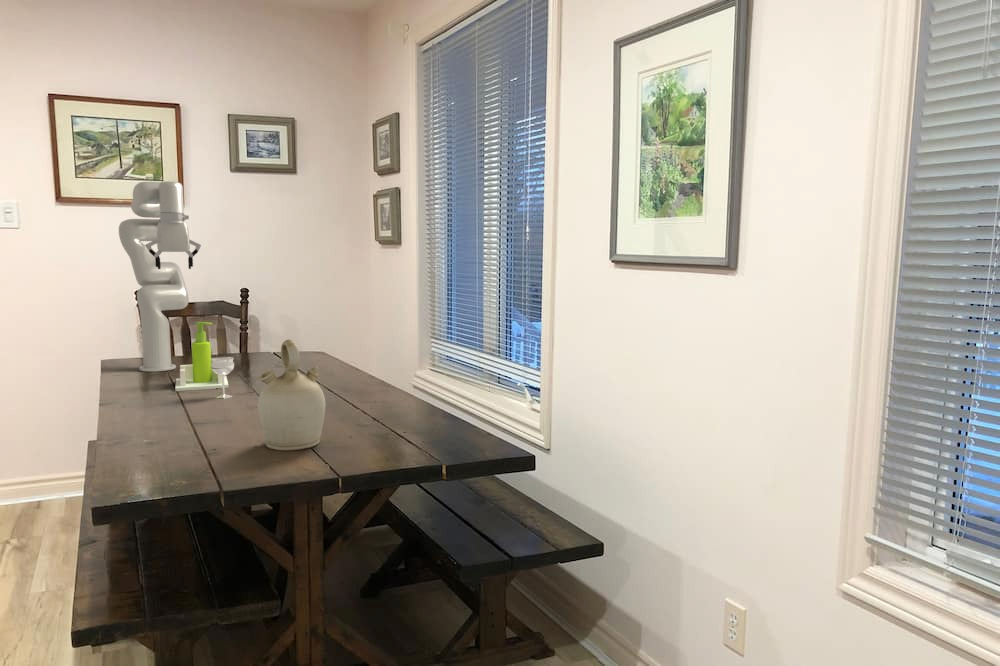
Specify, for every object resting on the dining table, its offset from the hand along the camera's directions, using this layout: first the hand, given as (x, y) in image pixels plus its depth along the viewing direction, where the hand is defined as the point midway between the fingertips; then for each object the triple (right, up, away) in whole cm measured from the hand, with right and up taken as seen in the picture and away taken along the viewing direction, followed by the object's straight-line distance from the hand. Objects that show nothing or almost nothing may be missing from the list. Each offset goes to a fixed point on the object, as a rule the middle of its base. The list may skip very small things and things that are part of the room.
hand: (174, 269), depth 256 cm
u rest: (+12, -39, -6) cm, 41 cm away
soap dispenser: (+12, -38, -5) cm, 41 cm away
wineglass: (+26, -42, -25) cm, 56 cm away
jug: (+63, -49, -79) cm, 112 cm away
